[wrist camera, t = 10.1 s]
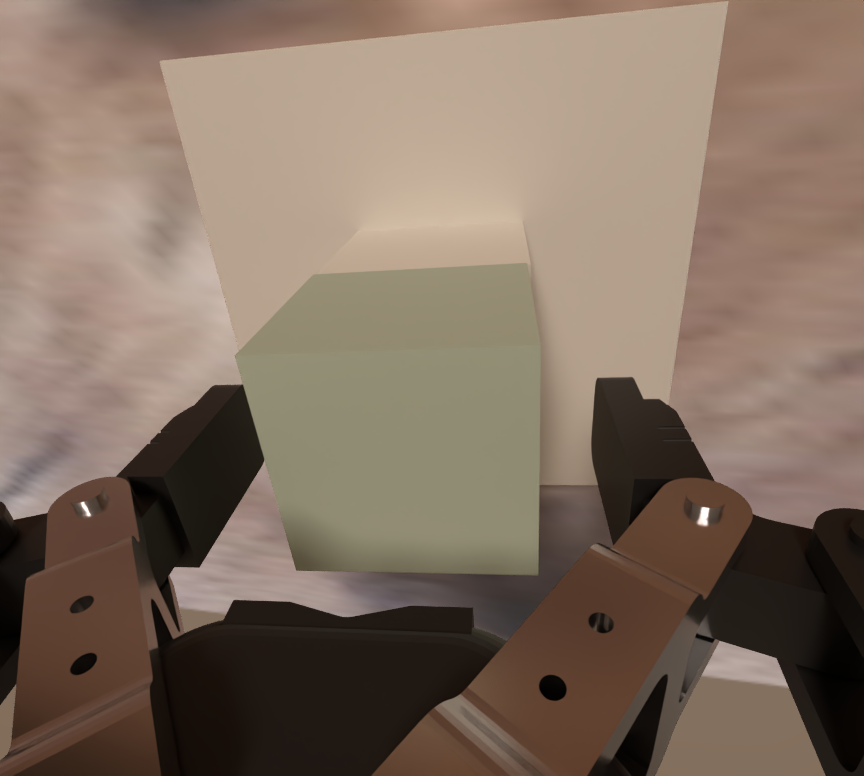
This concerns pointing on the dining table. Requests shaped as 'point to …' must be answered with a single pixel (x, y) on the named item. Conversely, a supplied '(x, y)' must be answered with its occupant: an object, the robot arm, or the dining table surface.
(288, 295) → the baseplate
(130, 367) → the dining table surface
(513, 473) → the sage block
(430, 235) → the beige block
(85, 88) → the dining table surface
